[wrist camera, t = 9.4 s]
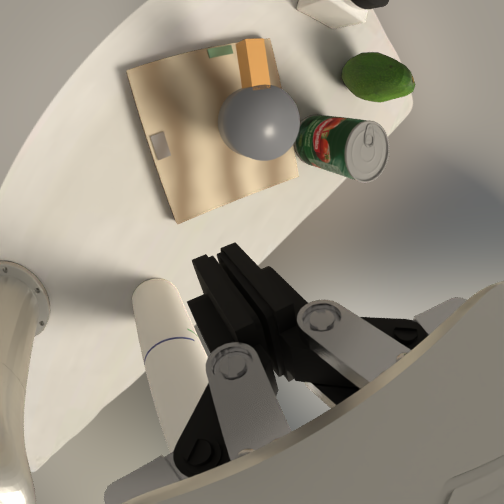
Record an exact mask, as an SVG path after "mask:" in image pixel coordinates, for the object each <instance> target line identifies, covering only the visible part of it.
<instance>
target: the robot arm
mask: <svg viewBox="0 0 504 504" xmlns="http://www.w3.org/2000/svg"><path fill="white" fill-rule="evenodd" d="M217 258H218V261H219V263H218V262H217V260H216V259H215V258H214V256H211V257H208V256H207V255H206V254H205V255H203V256H200V257H198V258H196V259H193V260H192V263H193V266H194V269H195V271H196V274H197V277H198V280H199V282H200V285H201V288H202V290H203V293H204V294H203V295H201V296H199V297H196V298H194V299H192V300H189V301H187V303H188V306H189V308H190V310H191V312H192V315H193V317H194V319H195V321H196V324H197V326H198V328H199V330H200V332H201V334H202V337H203V339H204V341H205V343H206V345H207V347H208V349H209V351H210V353H211V354H210V356H209V357H208V359H207V361H206V374H207V378H208V382H209V383H208V384H207V386H206V388H205V390H204V392H203V394H202V396H201V398H200V400H199V402H198V404H197V406H196V408H195V409H194V411H193V413H192V415H191V417H190V419H189V421H188V423H187V425H186V426H185V428H184V430H183V432H182V434H181V436H180V438H179V440H178V441H177V443H176V445H175V448H174V451H173V452H172V453H170V454H168V455H167V456H165V457H164V456H163V455H161V456H159V457H158V458H156V459H154V460H153V461H151V462H149V463H147V464H146V465H144V466H142V467H140V468H139V469H137V470H135V471H133V472H131V473H130V474H128V475H126V476H124V477H122V478H120V479H119V480H117V481H115V482H113V483H112V484H110V485H109V486H108V487H107V489H106V491H105V494H104V501H105V504H504V281H501V282H498V283H495V284H492V285H490V286H488V287H486V288H484V289H482V290H480V291H479V292H477V293H476V294H474V295H473V296H472V297H470V298H469V299H468V300H466V299H463V298H458V297H455V298H451V299H449V300H447V301H445V302H443V303H441V304H439V305H437V306H435V307H433V308H431V309H429V310H427V311H425V312H423V313H421V314H419V315H416V316H414V319H413V320H407V319H390V318H370V317H359V316H357V315H356V314H354V313H352V312H351V311H349V310H348V309H346V308H345V307H343V306H342V305H340V304H338V303H336V302H334V301H330V300H316V301H312V302H310V303H308V302H306V301H305V300H304V299H303V298H302V297H301V296H300V295H299V294H298V293H297V292H296V291H295V290H294V289H293V288H292V287H291V286H290V285H289V284H288V283H287V282H286V281H285V280H284V279H283V278H282V277H281V276H280V275H279V274H278V273H276V271H275V270H274V269H273V268H271V267H269V266H268V267H265V268H263V269H260V268H259V267H258V266H257V265H256V263H255V262H254V261H253V260H252V259H251V258H250V257H249V256H248V255H247V254H246V253H245V252H244V251H243V250H242V249H241V248H240V247H239V246H238V245H237V244H236V243H232V244H230V245H227V246H225V247H222V248H221V253H218V254H217ZM49 314H50V303H49V298H48V295H47V293H46V290H45V289H44V287H43V285H42V284H41V282H40V281H39V280H38V279H37V277H36V276H35V275H34V274H32V273H31V272H30V271H29V270H27V269H26V268H24V267H23V266H21V265H18V264H16V263H12V262H8V261H0V504H36V495H35V488H34V484H33V479H32V475H31V471H30V467H29V463H28V459H27V454H26V449H25V440H24V405H25V395H26V386H27V378H28V371H29V364H30V358H31V352H32V347H33V341H34V337H35V336H36V335H38V334H40V333H41V332H42V331H43V330H44V328H45V327H46V325H47V322H48V319H49ZM273 370H274V371H275V372H276V374H277V375H278V376H279V377H280V376H282V375H284V376H285V377H286V379H287V380H288V381H291V380H293V379H295V380H296V381H301V382H305V385H306V386H307V387H308V388H309V389H310V390H311V391H312V392H313V393H314V394H315V395H317V396H318V397H319V398H320V399H321V400H322V401H323V402H324V403H325V404H327V405H328V406H329V407H330V408H331V409H330V410H328V411H327V412H325V413H323V414H322V415H320V416H318V417H317V418H315V419H313V420H312V421H310V422H308V423H306V424H305V425H303V426H301V427H299V428H298V429H296V430H294V431H291V429H290V427H289V425H288V423H287V420H286V419H285V416H284V414H283V412H282V409H281V407H280V405H279V403H278V400H277V398H276V395H277V392H278V387H277V383H276V379H275V375H274V371H273Z"/></svg>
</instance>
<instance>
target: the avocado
mask: <svg viewBox="0 0 504 504" xmlns="http://www.w3.org/2000/svg"><path fill="white" fill-rule="evenodd" d="M342 79H343V81H344V84H345V85H346V87H347V88H348V89H349V90H350V91H351V92H352V93H353V94H354V95H355V96H357V97H359V98H361V99H364V100H368V101H373V102H384V101H388V100H392V99H395V98H399V97H404V96H406V95H408V94H410V93H412V92H413V90H414V87H415V82H414V79H413V76H412V74H411V72H410V70H409V69H408V68H407V67H406V66H405V65H403V64H402V63H400V62H398V61H397V60H395V59H393V58H391V57H389V56H386V55H383V54H381V53H378V52H368V53H360V54H358V55H356V56H355V57H353V58H351V59H350V60H348V62H347V63H346V65H345V66H344V68H343V70H342Z"/></svg>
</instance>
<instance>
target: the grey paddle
mask: <svg viewBox="0 0 504 504" xmlns="http://www.w3.org/2000/svg"><path fill="white" fill-rule="evenodd" d="M235 45H236V51H237V58H238V64H239V71H240V78H241V85H242V88H241V89H238V90H236V91H234V92H233V93H232V94H230V95H229V96H228V97H227V98H226V100H225V101H224V102H223V104H222V106H221V108H220V111H219V115H218V129H219V133H220V136H221V138H222V140H223V141H224V143H225V144H226V145H227V146H228V147H229V148H230V149H231V150H232V151H234V152H235V153H237V154H240V155H243V156H246V157H249V158H251V159H255V160H260V161H268V160H273V159H276V158H278V157H280V156H282V155H283V154H285V153H286V152H287V151H288V150H289V149H290V148H291V147H292V145H293V144H294V142H295V140H296V138H297V136H298V133H299V128H300V117H299V112H298V108H297V106H296V104H295V102H294V100H293V99H292V98H291V96H290V95H289V94H288V93H286V92H285V91H284V90H282V89H281V88H279V87H276V86H273V85H270V77H269V70H268V63H267V56H266V49H265V43H264V39H244V40H242V41H240V42H239V43H237V44H235Z"/></svg>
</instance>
